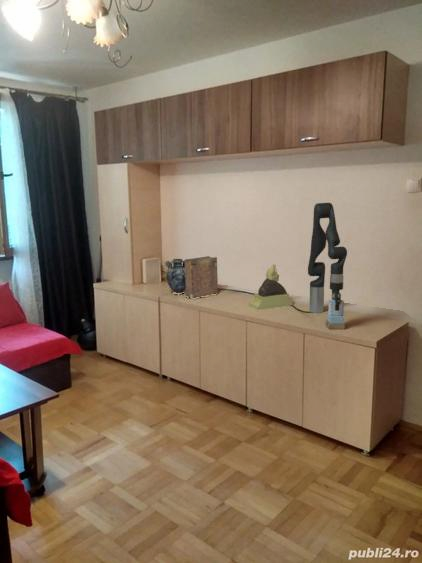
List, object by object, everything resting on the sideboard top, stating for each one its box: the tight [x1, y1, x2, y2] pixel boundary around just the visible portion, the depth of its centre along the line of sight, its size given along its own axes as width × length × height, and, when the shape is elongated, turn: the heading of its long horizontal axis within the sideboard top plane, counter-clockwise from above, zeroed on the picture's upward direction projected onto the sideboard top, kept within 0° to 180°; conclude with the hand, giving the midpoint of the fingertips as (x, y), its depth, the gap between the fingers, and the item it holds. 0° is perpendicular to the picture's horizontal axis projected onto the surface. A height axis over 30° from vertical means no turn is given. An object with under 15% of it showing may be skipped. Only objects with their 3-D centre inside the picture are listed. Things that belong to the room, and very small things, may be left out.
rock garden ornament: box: [248, 264, 294, 311], centre depth 322 cm, size 28×13×30 cm, turn 113°
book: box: [184, 255, 219, 298], centre depth 357 cm, size 25×9×30 cm, turn 131°
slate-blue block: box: [326, 313, 345, 323], centre depth 269 cm, size 8×8×4 cm
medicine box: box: [328, 299, 345, 316], centre depth 268 cm, size 8×4×9 cm, turn 90°
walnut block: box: [325, 319, 346, 331], centre depth 270 cm, size 9×9×4 cm
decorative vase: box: [165, 258, 187, 293], centre depth 369 cm, size 21×19×28 cm
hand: (335, 308), depth 268 cm, fingers open, 6 cm apart
